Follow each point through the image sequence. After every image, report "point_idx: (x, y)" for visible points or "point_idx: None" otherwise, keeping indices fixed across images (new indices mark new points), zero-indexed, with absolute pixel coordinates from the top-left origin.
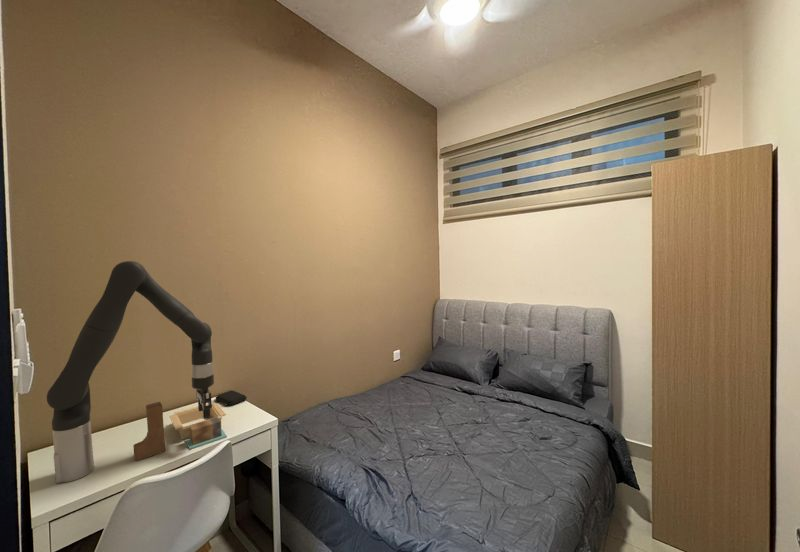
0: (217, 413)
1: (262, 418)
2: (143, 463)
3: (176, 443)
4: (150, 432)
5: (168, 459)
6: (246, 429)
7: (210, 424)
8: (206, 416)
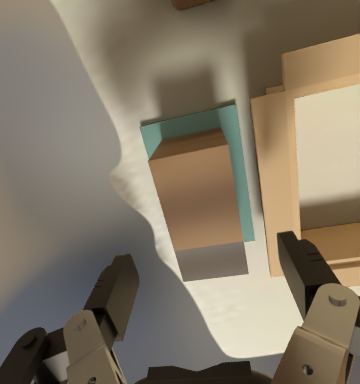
0: (351, 260)
1: (252, 344)
2: None
3: (238, 62)
4: None
5: (92, 40)
6: (200, 300)
7: (172, 243)
8: (104, 278)
